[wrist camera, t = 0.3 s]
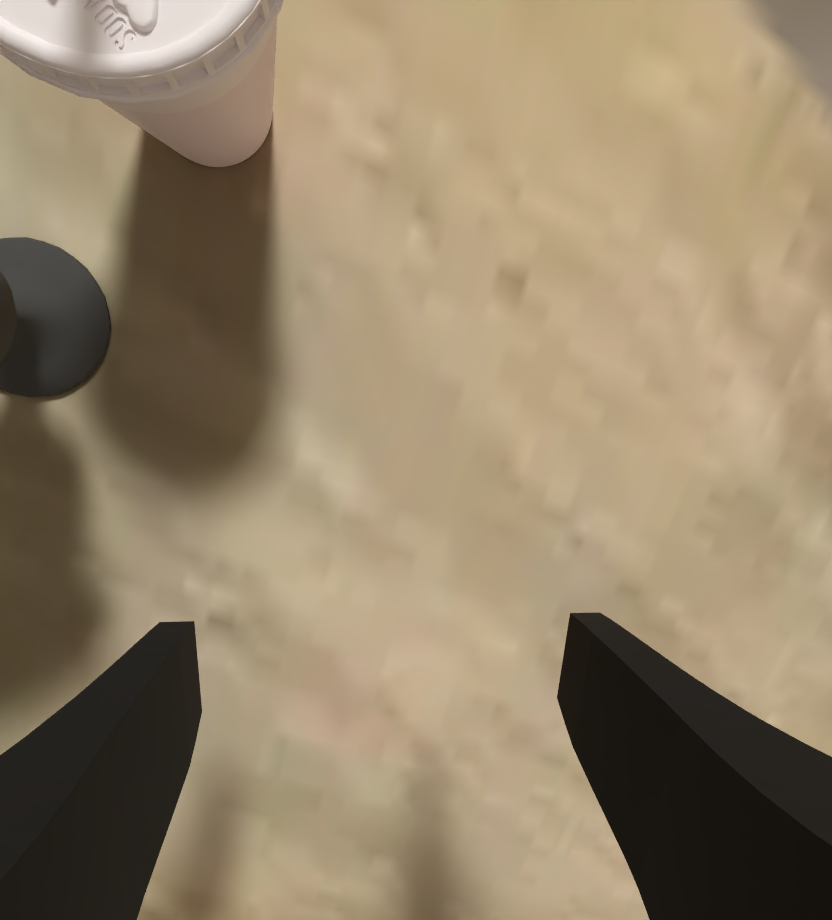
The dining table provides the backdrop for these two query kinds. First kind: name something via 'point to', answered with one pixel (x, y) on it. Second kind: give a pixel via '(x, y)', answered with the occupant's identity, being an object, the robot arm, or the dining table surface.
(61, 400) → the dining table surface
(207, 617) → the dining table surface
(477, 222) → the dining table surface
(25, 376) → the sundae
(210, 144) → the smoothie
